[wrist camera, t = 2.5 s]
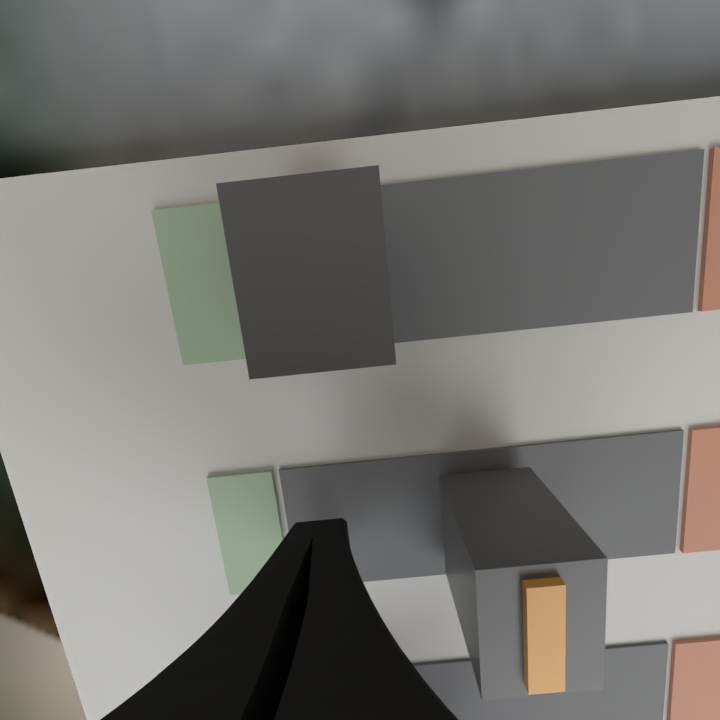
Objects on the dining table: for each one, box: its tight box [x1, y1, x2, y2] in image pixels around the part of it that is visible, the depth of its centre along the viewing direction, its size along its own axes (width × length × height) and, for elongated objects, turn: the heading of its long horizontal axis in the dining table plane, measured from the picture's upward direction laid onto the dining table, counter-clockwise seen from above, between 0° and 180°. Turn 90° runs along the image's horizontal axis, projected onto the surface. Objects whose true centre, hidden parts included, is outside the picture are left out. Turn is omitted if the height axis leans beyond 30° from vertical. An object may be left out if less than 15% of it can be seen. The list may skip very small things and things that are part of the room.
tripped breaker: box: [439, 467, 608, 700], centre depth 9 cm, size 3×2×4 cm
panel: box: [0, 96, 720, 720], centre depth 11 cm, size 20×26×6 cm
